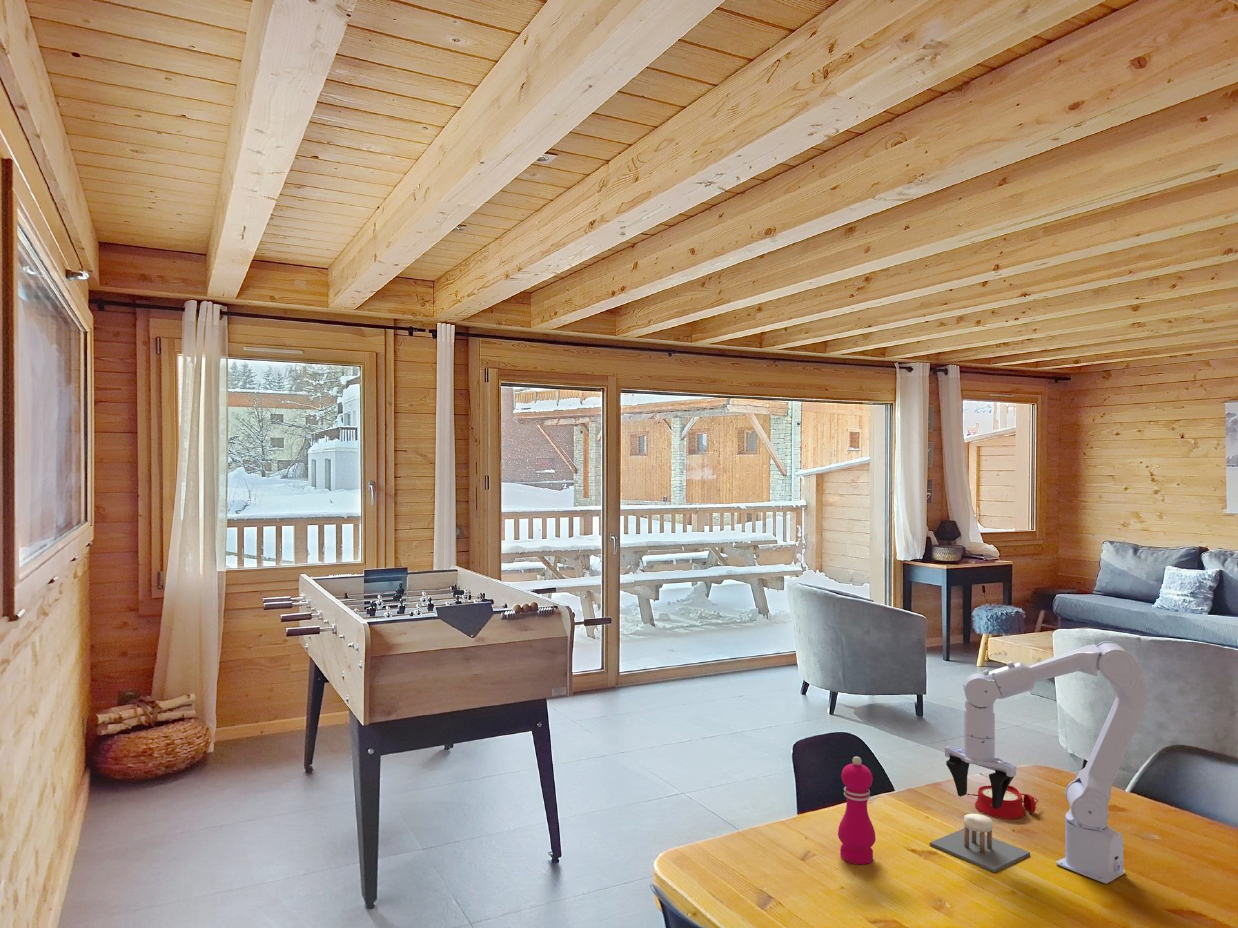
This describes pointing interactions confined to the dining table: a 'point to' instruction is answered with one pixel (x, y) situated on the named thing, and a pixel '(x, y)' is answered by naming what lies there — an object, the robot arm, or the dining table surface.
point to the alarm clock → (1005, 803)
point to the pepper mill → (856, 815)
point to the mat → (989, 860)
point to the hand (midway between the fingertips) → (979, 801)
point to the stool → (978, 830)
